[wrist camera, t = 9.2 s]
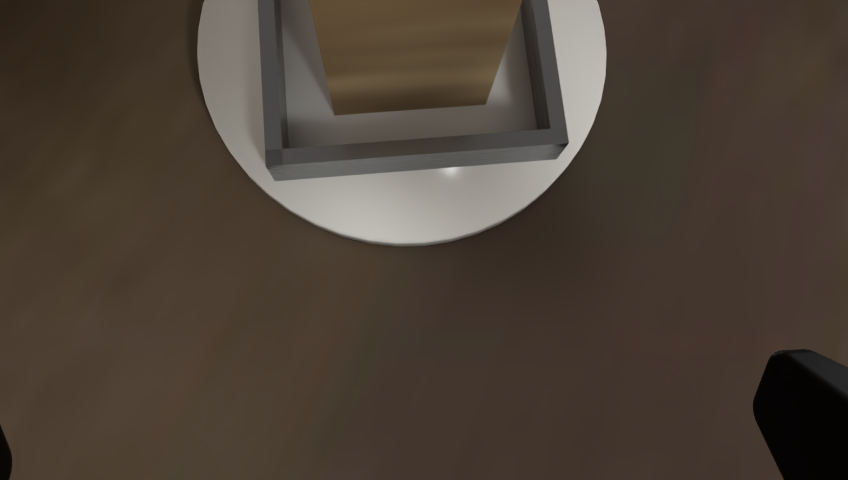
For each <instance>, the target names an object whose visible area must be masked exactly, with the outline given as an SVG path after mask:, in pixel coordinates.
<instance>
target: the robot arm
mask: <svg viewBox="0 0 848 480" xmlns="http://www.w3.org/2000/svg"><path fill="white" fill-rule="evenodd" d="M753 413H754V416H755V420H756V422H757V424H758V427H759V429H760V431H761V433H762V435H763V437H764V439H765V441H766V443H767V445H768V448H769V450H770V452H771V454H772V456H773V458H774V460H775V462H776V464H777V466H778V468H779V471H780V473H781V475H782V477H783V479H784V480H848V367H845V366H843V365H841V364H839V363H837V362H835V361H833V360H831V359H829V358H827V357H825V356H822V355H820V354H818V353H816V352H814V351H811V350H806V349H799V350H782V351H778V352H775V353H774V354H773V355H772V356H771V357H770V358H769V360H768V362H767V365H766V368H765V370H764V373H763V376H762V378H761V381H760V384H759V386H758V389H757V392H756V394H755V397H754V400H753ZM11 470H12V455H11V451H10V448H9V445H8V443H7V440H6V438H5V435H4V433H3V430H2V428H1V425H0V480H9V478H10V475H11Z"/></svg>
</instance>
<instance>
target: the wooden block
mask: <svg viewBox="0 0 848 480" xmlns="http://www.w3.org/2000/svg"><path fill="white" fill-rule="evenodd" d="M521 3H522V0H309V4H310V9H311V13H312V18H313V22H314V26H315V31H316V35H317V40H318V44H319V49H320V53H321V58H322V62H323V67H324V71H325V75H326V80H327V84H328V89H329V93H330V98H331V102H332V107H333V111H334V115H349V114H363V113H377V112H391V111H404V110H418V109H432V108H446V107H460V106H474V105H486V103H487V100H488V97H489V94H490V91H491V88H492V86H493V83H494V80H495V77H496V74H497V71H498V69H499V66H500V63H501V60H502V57H503V54H504V51H505V49H506V46H507V43H508V40H509V37H510V34H511V31H512V29H513V26H514V23H515V20H516V17H517V14H518V12H519V9H520V6H521Z"/></svg>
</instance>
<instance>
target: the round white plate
mask: <svg viewBox="0 0 848 480" xmlns="http://www.w3.org/2000/svg"><path fill="white" fill-rule="evenodd" d="M280 1H281V18H282V35H283V53H284V70H285V87H286V104H287V122H288V139H289V148H301V147H314V146H328V145H341V144H355V143H368V142H381V141H395V140H408V139H422V138H435V137H448V136H462V135H475V134H489V133H502V132H516V131H529V130H537V125H536V117H535V110H534V103H533V96H532V89H531V82H530V75H529V68H528V61H527V53H526V46H525V39H524V32H523V25H522V18H521V11H520V9H519V12H518V14H517V17H516V20H515V23H514V26H513V29H512V31H511V34H510V37H509V40H508V43H507V46H506V49H505V51H504V54H503V57H502V60H501V63H500V66H499V69H498V71H497V74H496V77H495V80H494V83H493V86H492V88H491V91H490V94H489V97H488V100H487V103H486V105H474V106H460V107H446V108H432V109H418V110H404V111H391V112H377V113H363V114H349V115H334V111H333V107H332V102H331V98H330V93H329V89H328V84H327V80H326V75H325V71H324V67H323V62H322V58H321V53H320V49H319V44H318V40H317V35H316V31H315V26H314V22H313V18H312V13H311V9H310V4H309V0H280ZM548 7H549V13H550V20H551V26H552V33H553V40H554V46H555V53H556V60H557V66H558V73H559V80H560V86H561V93H562V100H563V106H564V113H565V119H566V126H567V133H568V139H569V144H568V145H567V146H566V148H565V149H564V150H563V152H562V153H561V154H560V155H559V157H558V158H557V159H554V160H541V161H528V162H516V163H503V164H490V165H477V166H464V167H451V168H439V169H426V170H413V171H400V172H387V173H374V174H362V175H349V176H336V177H323V178H310V179H298V180H285V181H275V180H274V179H273V177H272V176H271V174H270V172H269V171H268V169H267V167H266V161H265V141H264V120H263V100H262V80H261V60H260V40H259V20H258V0H204V3H203V7H202V12H201V17H200V23H199V28H198V45H197V58H198V68H199V78H200V83H201V87H202V91H203V95H204V99H205V103H206V106H207V108H208V110H209V113H210V115H211V118H212V120H213V123H214V125H215V127H216V129H217V131H218V133H219V134H220V136H221V138H222V140H223V141H224V143H225V145H226V146H227V148H228V150H229V151H230V153H231V154H232V155H233V157H234V158H235V159H236V161H237V162H238V163H239V165H240V166H241V167H242V168H243V170H244V171H245V172H246V173H247V175H248V176H249V177H250V178H251V180H252V181H253V182H254V183H255V184H256V185H257V186H258V187H259V188H260V189H261V190H262V191H263V192H265V193H266V194H267V195H268V196H269V197H270V198H271V199H272V200H273V201H275V202H276V203H277V204H279V205H280V206H282V207H283V208H284V209H286V210H287V211H288V212H290V213H291V214H293V215H294V216H296V217H298V218H300V219H302V220H303V221H305V222H307V223H309V224H311V225H313V226H315V227H316V228H319V229H321V230H324V231H327V232H329V233H332V234H334V235H337V236H340V237H342V238H346V239H351V240H355V241H359V242H363V243H367V244H375V245H384V246H393V247H410V246H428V245H435V244H441V243H448V242H452V241H456V240H459V239H463V238H466V237H470V236H473V235H476V234H479V233H481V232H483V231H486V230H488V229H490V228H492V227H495V226H497V225H499V224H501V223H503V222H504V221H506V220H508V219H509V218H511V217H513V216H514V215H516V214H518V213H519V212H521V211H522V210H524V209H525V208H526V207H527V206H529V205H530V204H531V203H532V202H533V201H535V200H536V199H537V198H538V197H540V196H541V195H542V194H543V193H544V192H545V191H546V190H547V189H548V188H549V187H550V185H551V184H552V183H553V182H554V181H555V180H556V179H557V178H558V177H559V176H560V175H561V173H562V172H563V171H564V170H565V169H566V168H567V166H568V165H569V163H570V162H571V161H572V159H573V158H574V156H575V155H576V153H577V152H578V151H579V149H580V148H581V146H582V144H583V142H584V140H585V138H586V136H587V135H588V133H589V131H590V129H591V127H592V125H593V122H594V119H595V116H596V113H597V110H598V107H599V104H600V102H601V97H602V92H603V86H604V81H605V73H606V43H605V33H604V26H603V22H602V18H601V13H600V9H599V5H598V2H597V0H548Z"/></svg>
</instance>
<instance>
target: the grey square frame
mask: <svg viewBox="0 0 848 480" xmlns="http://www.w3.org/2000/svg"><path fill="white" fill-rule="evenodd" d="M520 11H521V18H522V25H523V32H524V39H525V46H526V53H527V61H528V68H529V75H530V82H531V89H532V96H533V103H534V110H535V117H536V125H537V130H529V131H516V132H502V133H489V134H475V135H462V136H448V137H435V138H422V139H408V140H395V141H381V142H368V143H355V144H341V145H328V146H314V147H301V148H289V139H288V122H287V104H286V87H285V70H284V53H283V35H282V18H281V1H280V0H258V20H259V40H260V60H261V80H262V100H263V120H264V141H265V161H266V167H267V169H268V171H269V172H270V174H271V176H272V177H273V179H274V180H275V181H285V180H298V179H310V178H323V177H336V176H349V175H362V174H374V173H387V172H400V171H413V170H426V169H439V168H451V167H464V166H477V165H490V164H503V163H516V162H528V161H541V160H554V159H557V158H558V157H559V155H560V154H561V153H562V152H563V150H564V149H565V148H566V146H567V145H568V144H569V139H568V133H567V126H566V119H565V113H564V106H563V100H562V93H561V86H560V80H559V73H558V66H557V60H556V53H555V46H554V40H553V33H552V26H551V20H550V13H549V7H548V0H522V3H521V6H520Z"/></svg>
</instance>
